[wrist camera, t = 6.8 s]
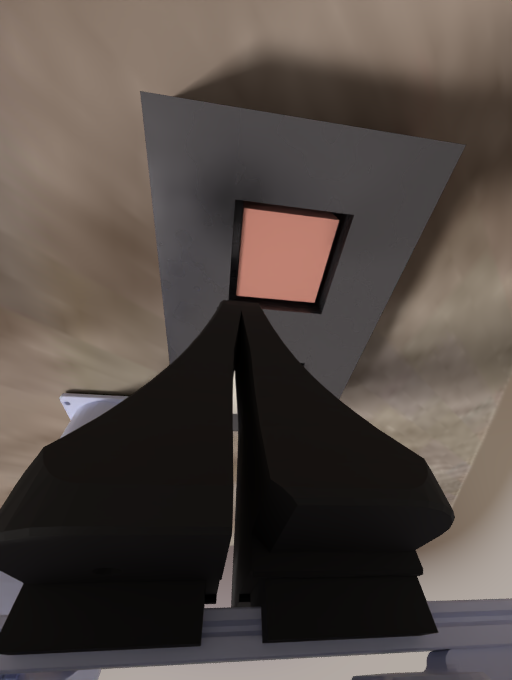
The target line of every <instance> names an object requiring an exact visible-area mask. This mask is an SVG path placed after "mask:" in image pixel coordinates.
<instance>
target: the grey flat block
mask: <svg viewBox="0 0 512 680" xmlns="http://www.w3.org/2000/svg"><path fill="white" fill-rule="evenodd" d="M140 94H141V103H142V112H143V121H144V130H145V140H146V149H147V158H148V167H149V177H150V186H151V195H152V204H153V213H154V223H155V232H156V241H157V250H158V260H159V269H160V278H161V287H162V296H163V306H164V315H165V324H166V333H167V343H168V352H169V361H170V364H171V363H172V362H173V361H174V360H176V359H177V358H178V357H179V356H180V355H181V354H182V353H183V352H184V351H185V350H186V349H187V348H188V347H189V345H190V344H191V343H192V342H193V341H194V340H195V339H196V337H197V336H198V335H199V334H200V333H201V332H202V330H203V329H204V328H205V326H206V325H207V323H208V322H209V321H210V319H211V318H212V316H213V315H214V313H215V312H216V310H217V308H218V306H219V304H220V302H221V301H223V300H231V301H241V302H251V303H259V305H260V306H261V308H262V310H263V311H264V313H265V315H266V317H267V318H268V320H269V322H270V323H271V325H272V326H273V328H274V329H275V331H276V332H277V334H278V335H279V337H280V338H281V340H282V341H283V342H284V344H285V345H286V346H287V348H288V349H289V350H290V351H291V353H292V354H293V355H294V356H295V358H296V359H297V360H298V361H299V362H300V363H301V364H302V365H303V366H304V367H305V369H306V370H307V371H308V372H309V373H310V374H311V375H312V376H313V377H314V378H315V379H316V380H317V381H319V382H320V383H321V384H322V385H323V386H324V387H325V388H326V389H327V390H329V391H330V392H331V393H332V394H333V395H334V396H336V397H337V398H338V399H339V398H340V396H341V394H342V392H343V390H344V388H345V386H346V384H347V382H348V380H349V378H350V376H351V374H352V372H353V370H354V368H355V366H356V364H357V362H358V360H359V358H360V356H361V354H362V352H363V350H364V348H365V346H366V344H367V342H368V340H369V338H370V336H371V334H372V332H373V330H374V328H375V326H376V324H377V322H378V320H379V318H380V316H381V314H382V312H383V310H384V308H385V306H386V304H387V302H388V300H389V298H390V296H391V294H392V292H393V290H394V288H395V286H396V284H397V282H398V280H399V278H400V276H401V274H402V272H403V270H404V268H405V266H406V264H407V262H408V260H409V258H410V256H411V254H412V252H413V250H414V248H415V246H416V244H417V242H418V240H419V238H420V236H421V234H422V232H423V230H424V228H425V226H426V224H427V222H428V220H429V218H430V216H431V214H432V212H433V210H434V208H435V206H436V204H437V202H438V200H439V198H440V196H441V194H442V192H443V190H444V188H445V186H446V184H447V182H448V180H449V178H450V176H451V174H452V172H453V170H454V168H455V166H456V164H457V162H458V160H459V158H460V156H461V154H462V152H463V150H464V148H465V146H466V145H463V144H457V143H451V142H445V141H439V140H432V139H426V138H420V137H414V136H408V135H402V134H396V133H390V132H384V131H378V130H372V129H366V128H360V127H354V126H348V125H342V124H336V123H330V122H324V121H318V120H312V119H305V118H299V117H293V116H287V115H281V114H275V113H269V112H263V111H257V110H251V109H245V108H239V107H233V106H227V105H221V104H215V103H209V102H203V101H197V100H191V99H185V98H178V97H172V96H166V95H160V94H154V93H148V92H142V91H140ZM243 201H251V202H258V203H266V204H274V205H282V206H289V207H297V208H305V209H312V210H320V211H328V212H332V213H333V214H334V215H335V216H336V217H337V218H338V219H339V223H338V226H337V230H336V233H335V236H334V240H333V243H332V246H331V250H330V253H329V256H328V260H327V263H326V266H325V269H324V273H323V276H322V279H321V283H320V286H319V289H318V293H317V296H316V299H315V303H312V302H301V301H290V300H279V299H269V298H258V297H247V296H236V289H237V270H238V258H239V246H240V234H241V223H242V211H243ZM233 431H238V416H237V414H233Z"/></svg>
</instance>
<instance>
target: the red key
mask: <svg viewBox="0 0 512 680" xmlns="http://www.w3.org/2000/svg"><path fill="white" fill-rule="evenodd" d="M338 223H339V219H338V218H337V217H336V216H335V215H334V214H333V213H332V212H328V211H320V210H312V209H305V208H297V207H289V206H282V205H274V204H266V203H258V202H251V201H243V211H242V223H241V234H240V246H239V258H238V270H237V289H236V296H247V297H258V298H269V299H279V300H290V301H301V302H312V303H315V299H316V296H317V293H318V289H319V286H320V283H321V279H322V276H323V273H324V269H325V266H326V263H327V260H328V256H329V253H330V250H331V246H332V243H333V240H334V236H335V233H336V230H337V226H338Z"/></svg>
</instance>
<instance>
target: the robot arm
mask: <svg viewBox="0 0 512 680" xmlns="http://www.w3.org/2000/svg"><path fill="white" fill-rule="evenodd" d="M234 371H235V384H236V400H237V416H238V460H237V487H236V511H235V534H234V557H233V576H232V600H231V608H204V604H216V596H217V590H218V586H219V581H220V580H221V579H222V575H223V571H224V566H225V562H226V558H227V553H228V548H229V545H230V540H231V536H232V520H233V377H234ZM60 401H61V402H62V404H63V406H64V408H65V410H66V412H67V414H68V416H69V418H70V420H71V421H70V422H69V424H68V426H67V427H66V429H65V431H64V432H63V434H62V436H61V438H60V439H58V440H56V441H55V442H53V443H51V444H49V445H47V446H45V447H43V449H42V450H41V452H40V453H39V454H38V456H37V457H36V458H35V460H34V461H33V462H32V463H31V465H30V466H29V467H28V468H27V470H26V471H25V472H24V474H23V475H22V477H21V478H20V479H19V481H18V482H17V484H16V485H15V487H14V488H13V490H12V492H11V493H10V495H9V496H8V498H7V500H6V501H5V503H4V504H3V506H2V507H1V509H0V680H98V677H99V674H100V672H101V669H109V668H129V667H147V666H164V665H184V664H202V663H221V662H239V661H257V660H276V659H293V658H312V657H331V656H348V655H367V654H385V653H404V652H423V651H432V652H430V653H429V655H428V657H427V667H426V670H425V671H424V672H414V673H387V674H375V675H362V676H353V678H352V680H512V599H483V600H452V601H426V598H425V596H424V593H423V591H422V588H421V585H420V583H419V581H418V578H417V576H420V575H422V574H423V568H422V565H421V563H420V560H419V558H418V555H417V553H416V551H415V550H416V549H418V548H419V547H421V546H423V545H425V544H426V543H428V542H430V541H432V540H433V539H435V538H437V537H438V536H440V535H442V534H443V533H444V532H446V531H447V530H448V529H449V528H450V527H451V525H452V523H453V521H454V518H455V516H454V512H453V510H452V508H451V506H450V504H449V502H448V500H447V498H446V497H445V495H444V493H443V491H442V489H441V487H440V486H439V484H438V482H437V480H436V478H435V476H434V475H433V473H432V471H431V469H430V468H429V466H428V464H427V463H426V461H425V459H424V458H422V457H421V456H419V455H417V454H416V453H414V452H413V451H411V450H410V449H408V448H407V447H405V446H403V445H402V444H400V443H399V442H397V441H396V440H394V439H393V438H391V437H390V436H388V435H386V434H385V433H383V432H382V431H380V430H379V429H377V428H376V427H375V426H373V425H372V424H370V423H369V422H368V421H366V420H365V419H364V418H362V417H361V416H360V415H358V414H357V413H355V412H354V411H353V410H352V409H350V408H349V407H348V406H346V405H345V404H344V403H343V402H341V401H340V400H339V399H338V398H337V397H336V396H334V395H333V394H332V393H331V392H330V391H329V390H327V389H326V388H325V387H324V386H323V385H322V384H321V383H320V382H319V381H317V380H316V379H315V378H314V377H313V376H312V375H311V374H310V373H309V372H308V371H307V370H306V369H305V367H304V366H303V365H302V364H301V363H300V362H299V361H298V360H297V359H296V358H295V356H294V355H293V354H292V353H291V351H290V350H289V349H288V348H287V346H286V345H285V344H284V342H283V341H282V340H281V338H280V337H279V335H278V334H277V332H276V331H275V329H274V328H273V326H272V325H271V323H270V322H269V320H268V318H267V317H266V315H265V313H264V311H263V310H262V308H261V306H260V305H259V303H251V302H241V301H231V300H223V301H221V302H220V304H219V306H218V308H217V310H216V312H215V313H214V315H213V316H212V318H211V319H210V321H209V322H208V323H207V325H206V326H205V328H204V329H203V330H202V332H201V333H200V334H199V335H198V336H197V337H196V339H195V340H194V341H193V342H192V343H191V344H190V345H189V347H188V348H187V349H186V350H185V351H184V352H183V353H182V354H181V355H180V356H179V357H178V358H177V359H176V360H174V361H173V362H172V363H171V364H170V365H169V366H168V367H167V368H166V369H164V370H163V371H162V372H161V373H160V374H158V375H157V376H156V377H155V378H153V379H152V380H151V381H150V382H148V383H147V384H146V385H145V386H143V387H142V388H141V389H139V390H138V391H136V392H135V393H133V394H132V395H130V396H112V395H92V394H72V393H63V394H62V395H61V396H60Z"/></svg>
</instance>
